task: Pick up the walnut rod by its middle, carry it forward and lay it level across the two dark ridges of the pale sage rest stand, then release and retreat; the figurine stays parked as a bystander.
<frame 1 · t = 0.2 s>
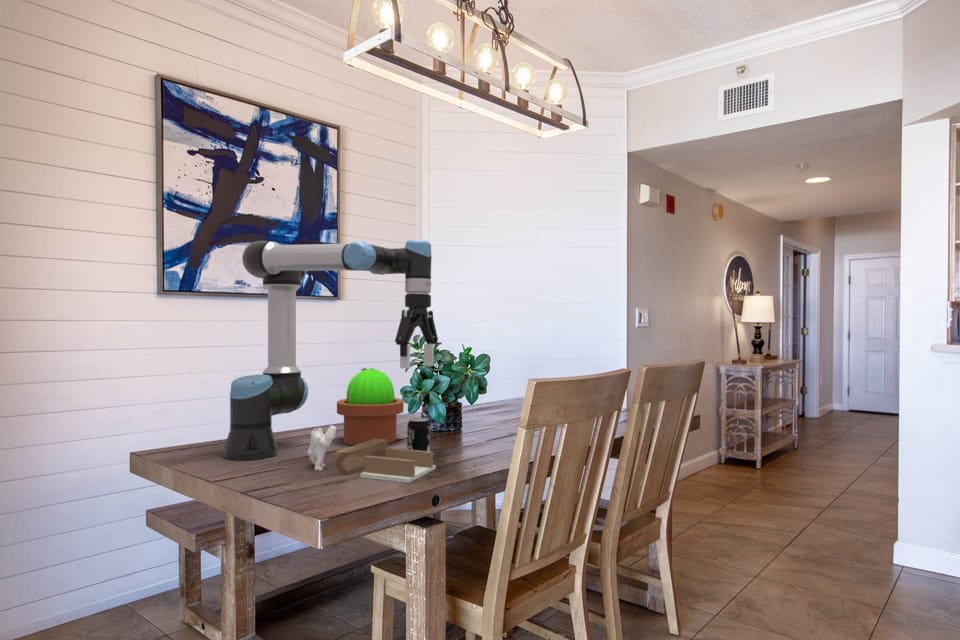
hand: (417, 366, 177), 27 cm above the table, fingers open, 13 cm apart
potted cactus: (370, 442, 204), on the table
figurine: (321, 468, 167), on the table
beverage can: (418, 461, 177), on the table
rest stand: (399, 472, 162), on the table
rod: (362, 466, 169), on the table
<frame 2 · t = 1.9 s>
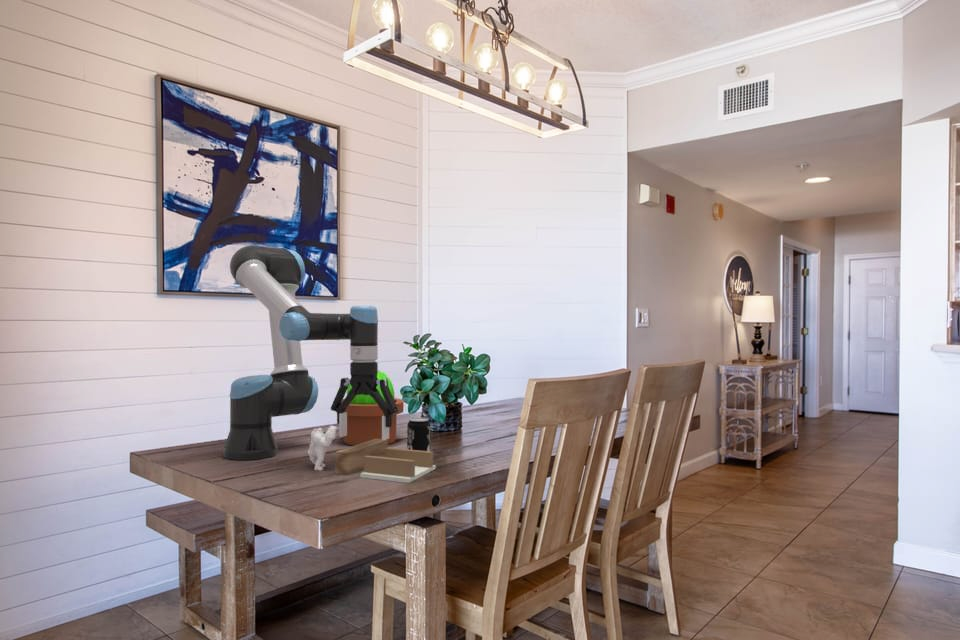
hand: (364, 437, 169), 8 cm above the table, fingers open, 13 cm apart
nothing on the table moved.
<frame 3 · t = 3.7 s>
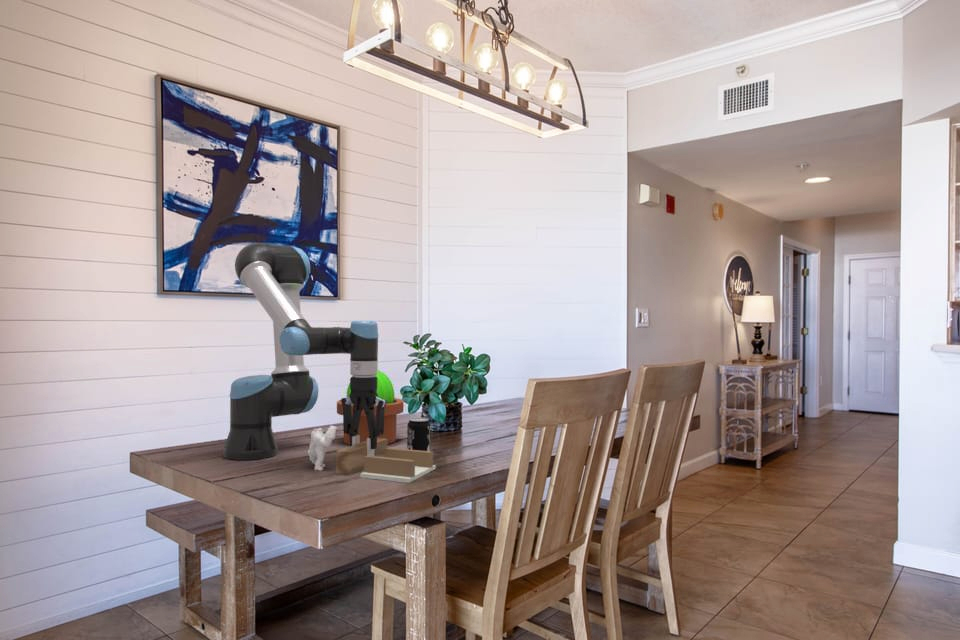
hand: (363, 459, 169), 2 cm above the table, fingers closed on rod, 4 cm apart
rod: (363, 466, 169), on the table, touching gripper
everything else where it was.
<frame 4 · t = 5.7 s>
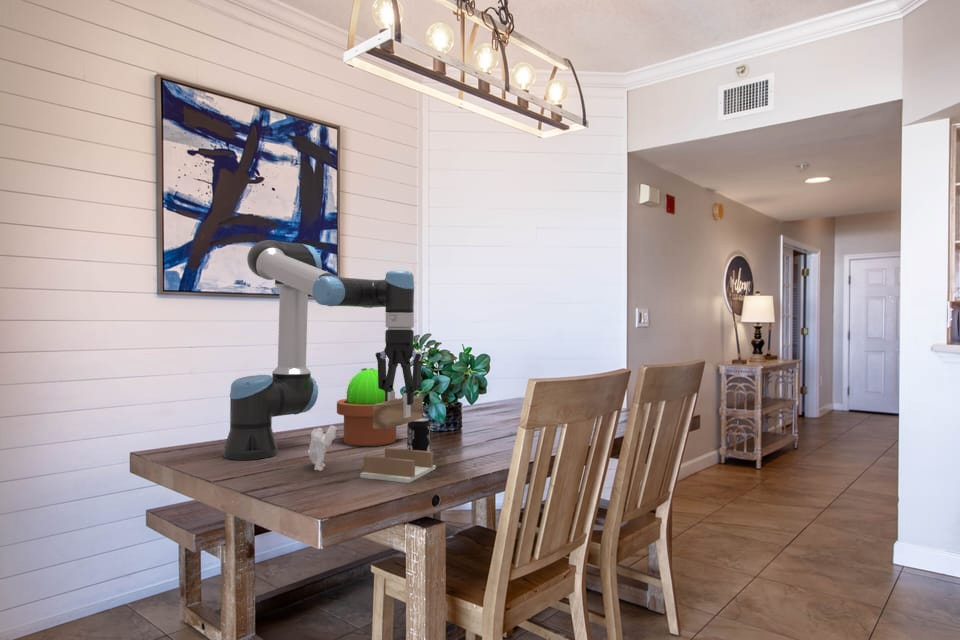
hand: (399, 416, 162), 15 cm above the table, fingers closed on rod, 4 cm apart
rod: (399, 422, 162), point 13 cm above the table, touching gripper
everything else where it was.
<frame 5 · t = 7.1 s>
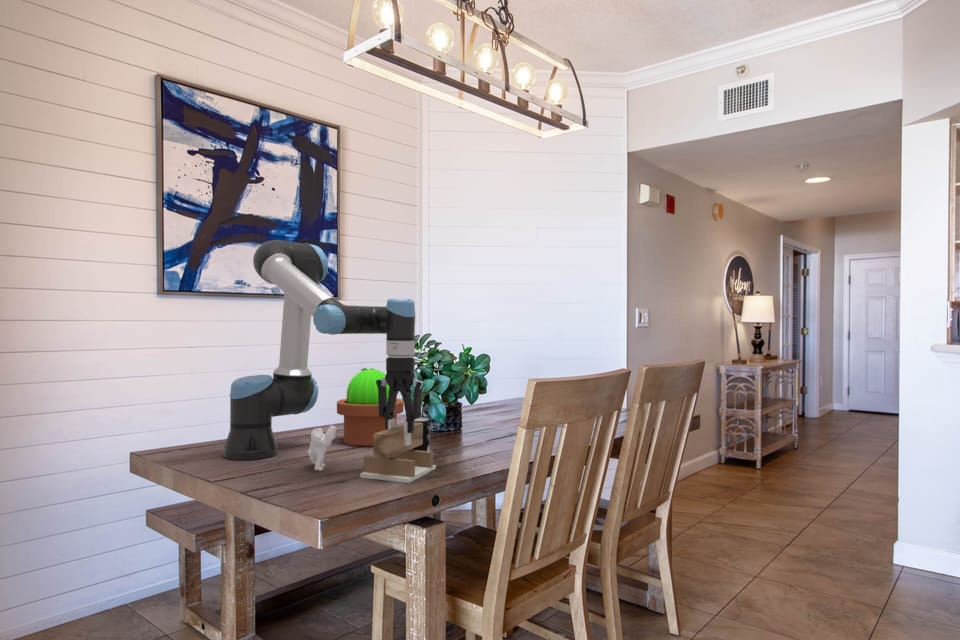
hand: (399, 444, 162), 8 cm above the table, fingers closed on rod, 4 cm apart
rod: (399, 450, 162), point 6 cm above the table, touching gripper
everything else where it was.
when the fingers open (8 cm above the table, at t = 7.9 s): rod stays where it is, resting on rest stand.
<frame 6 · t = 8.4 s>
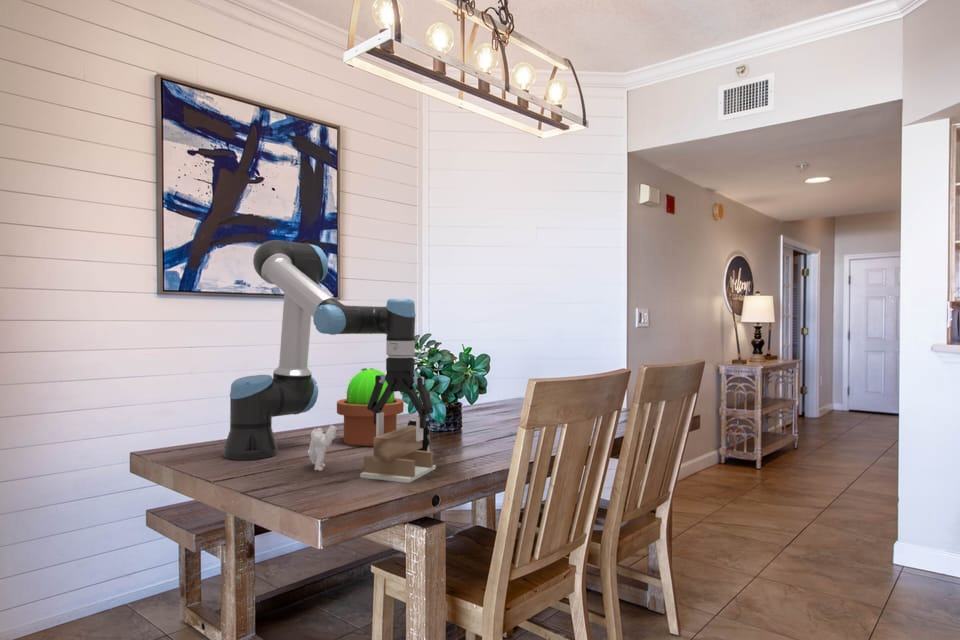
hand: (399, 438, 162), 9 cm above the table, fingers open, 11 cm apart
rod: (399, 454, 162), point 5 cm above the table, touching rest stand
everything else where it was.
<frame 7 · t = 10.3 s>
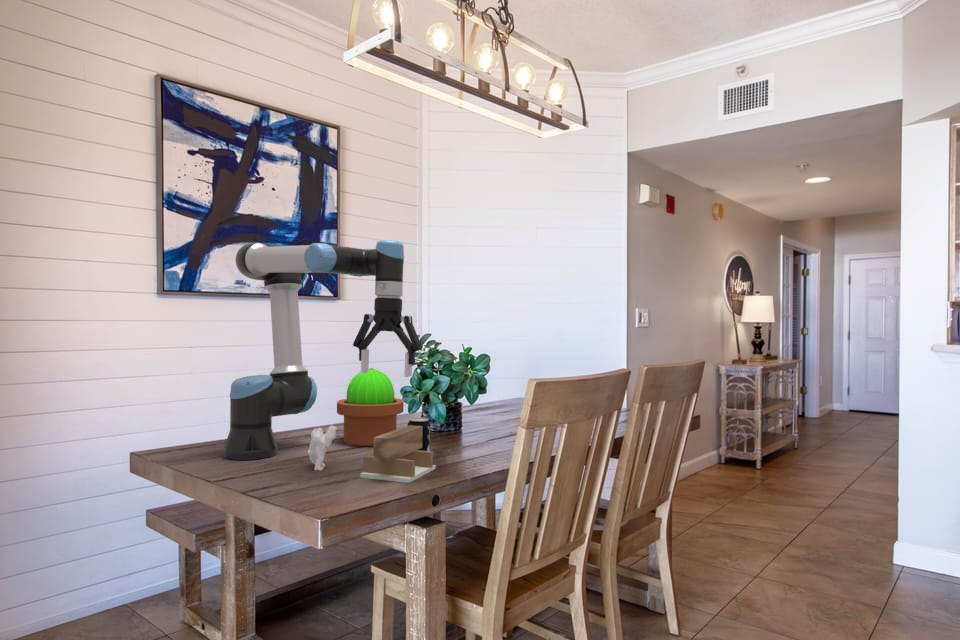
hand: (386, 374, 167), 26 cm above the table, fingers open, 13 cm apart
nothing on the table moved.
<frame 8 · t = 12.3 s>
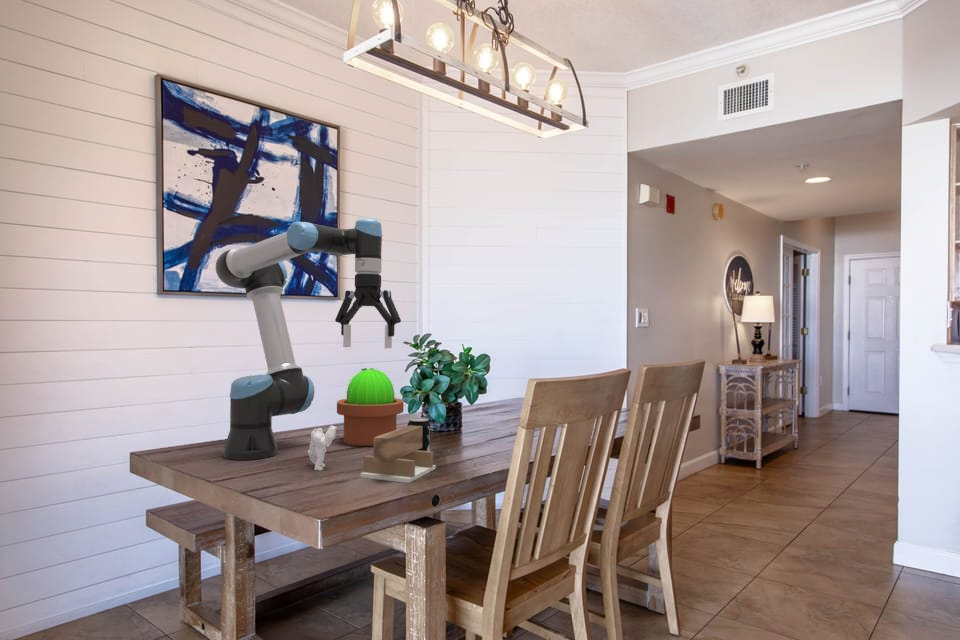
hand: (367, 347, 175), 33 cm above the table, fingers open, 13 cm apart
nothing on the table moved.
at the end: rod inside the target area on the rest stand (0.1 cm from its centre), point 5.0 cm above the rest stand's base; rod touching rest stand; the gripper is holding nothing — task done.
